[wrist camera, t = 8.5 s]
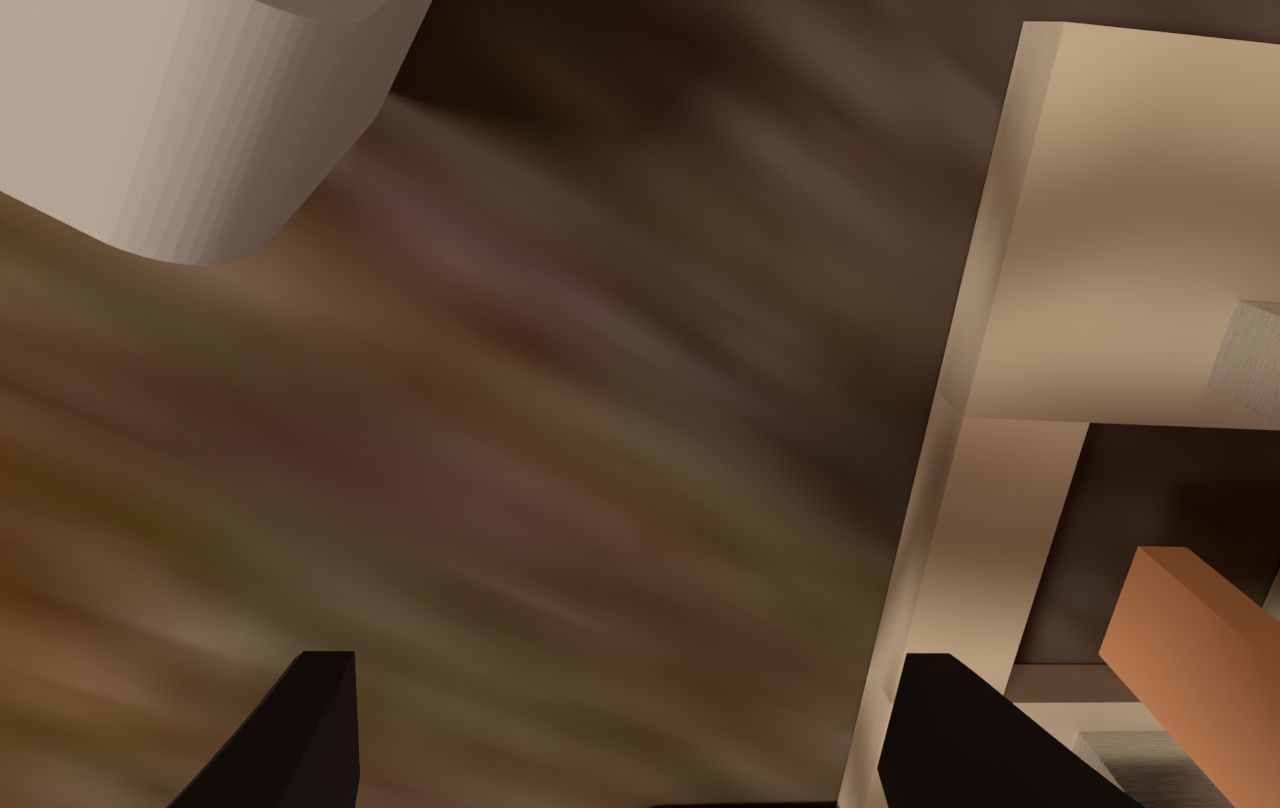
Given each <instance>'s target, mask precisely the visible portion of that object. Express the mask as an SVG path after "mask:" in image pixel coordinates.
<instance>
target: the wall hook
mask: <svg viewBox="0 0 1280 808" xmlns="http://www.w3.org/2000/svg"><path fill="white" fill-rule="evenodd" d="M431 2H432V0H0V191H2V192H4V193H6V194H8V195H10V196H12V197H14V198H16V199H18V200H20V201H22V202H24V203H26V204H28V205H30V206H32V207H34V208H36V209H38V210H40V211H42V212H44V213H46V214H48V215H50V216H52V217H54V218H56V219H58V220H60V221H62V222H64V223H66V224H68V225H70V226H72V227H74V228H76V229H78V230H80V231H82V232H84V233H86V234H88V235H90V236H92V237H94V238H96V239H98V240H100V241H102V242H104V243H106V244H109V245H111V246H114V247H116V248H119V249H122V250H124V251H127V252H130V253H134V254H137V255H140V256H143V257H147V258H152V259H156V260H160V261H165V262H171V263H178V264H185V265H206V266H209V265H219V264H229V263H233V262H236V261H240V260H244V259H246V258H248V257H250V256H252V255H254V254H256V253H258V252H259V251H260V250H261V249H262V248H263V247H264V246H265V245H266V244H267V243H268V242H269V240H270V239H271V238H272V237H273V236H274V235H275V234H276V233H277V232H278V230H279V229H280V228H281V227H282V226H283V225H284V224H285V223H286V221H287V220H288V219H289V218H290V217H291V216H292V215H293V214H294V212H295V211H296V210H297V209H298V208H299V207H300V206H301V205H302V203H303V202H304V201H305V200H306V199H307V198H308V197H309V196H310V194H311V193H312V192H313V191H314V190H315V189H316V187H317V186H318V185H319V184H320V183H321V182H322V180H323V179H324V178H325V177H326V176H327V175H328V173H329V172H330V171H331V170H332V169H333V168H334V166H335V165H336V164H337V163H338V162H339V161H340V159H341V158H342V157H343V156H344V155H345V154H346V152H347V151H348V150H349V149H350V148H351V147H352V145H353V144H354V143H355V142H356V141H357V140H358V138H359V137H360V136H361V135H362V134H363V133H364V131H365V130H366V129H367V128H368V127H369V126H370V124H371V123H372V122H373V121H374V120H375V118H376V117H377V115H378V113H379V111H380V109H381V107H382V105H383V103H384V101H385V99H386V96H387V94H388V92H389V90H390V88H391V86H392V84H393V82H394V80H395V78H396V75H397V73H398V71H399V69H400V67H401V65H402V63H403V61H404V59H405V57H406V54H407V52H408V50H409V48H410V46H411V44H412V42H413V40H414V38H415V36H416V33H417V31H418V29H419V27H420V25H421V23H422V21H423V19H424V17H425V15H426V12H427V10H428V8H429V6H430V4H431Z"/></svg>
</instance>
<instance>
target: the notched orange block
mask: <svg viewBox="0 0 1280 808" xmlns="http://www.w3.org/2000/svg"><path fill="white" fill-rule="evenodd" d="M1099 655H1100V656H1101V658H1102V659H1103V660H1104V661H1105V662H1106V663H1107V664H1108V665H1109V667H1110V668H1111V669H1112V670H1113V671H1114V672H1115V673H1116V674H1117V676H1118V677H1119V678H1120V679H1121V680H1122V681H1123V682H1124V683H1125V685H1126V686H1127V687H1128V688H1129V689H1130V690H1131V691H1132V692H1133V693H1134V695H1135V696H1136V697H1137V698H1138V699H1139V700H1140V701H1141V702H1142V704H1143V705H1144V706H1145V707H1146V708H1147V709H1148V710H1149V711H1150V713H1151V714H1152V715H1153V716H1154V717H1155V718H1156V719H1157V720H1158V722H1159V723H1160V724H1161V725H1162V726H1163V727H1164V728H1165V729H1166V731H1167V732H1168V733H1169V734H1170V735H1171V736H1172V737H1173V738H1174V740H1175V741H1176V742H1177V743H1178V744H1179V745H1180V746H1181V747H1182V749H1183V750H1184V751H1185V752H1186V753H1187V754H1188V755H1189V756H1190V758H1191V759H1192V760H1193V761H1194V762H1195V763H1196V764H1197V765H1198V766H1199V768H1200V769H1201V770H1202V771H1203V772H1204V773H1205V774H1206V775H1207V777H1208V778H1209V779H1210V780H1211V781H1212V782H1213V783H1214V784H1215V786H1216V787H1217V788H1218V789H1219V790H1220V791H1221V792H1222V793H1223V795H1224V796H1225V797H1226V798H1227V799H1228V800H1229V801H1230V802H1231V804H1232V805H1233V806H1234V807H1235V808H1280V620H1279V622H1278V621H1277V620H1276V619H1275V618H1273V617H1272V616H1271V615H1270V614H1269V613H1267V612H1266V611H1265V610H1264V609H1262V608H1261V607H1260V606H1259V605H1257V604H1256V603H1255V602H1254V601H1252V600H1251V599H1250V598H1249V597H1248V596H1246V595H1245V594H1244V593H1243V592H1241V591H1240V590H1239V589H1238V588H1236V587H1235V586H1234V585H1233V584H1231V583H1230V582H1229V581H1228V580H1226V579H1225V578H1224V577H1223V576H1222V575H1220V574H1219V573H1218V572H1217V571H1215V570H1214V569H1213V568H1212V567H1210V566H1209V565H1208V564H1207V563H1205V562H1204V561H1203V560H1202V559H1201V558H1199V557H1198V556H1197V555H1196V554H1194V553H1193V552H1192V551H1191V550H1189V549H1188V548H1187V547H1157V546H1138V548H1137V551H1136V553H1135V556H1134V559H1133V561H1132V564H1131V567H1130V570H1129V572H1128V575H1127V578H1126V580H1125V583H1124V586H1123V589H1122V591H1121V594H1120V597H1119V600H1118V602H1117V605H1116V608H1115V610H1114V613H1113V616H1112V619H1111V621H1110V624H1109V627H1108V629H1107V632H1106V635H1105V638H1104V640H1103V643H1102V646H1101V648H1100V651H1099Z"/></svg>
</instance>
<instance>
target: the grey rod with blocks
mask: <svg viewBox="0 0 1280 808" xmlns="http://www.w3.org/2000/svg"><path fill="white" fill-rule="evenodd" d="M1206 386H1207V387H1208V388H1210V389H1212V390H1214V391H1216V392H1217V393H1219V394H1221V395H1223V396H1225V397H1227V398H1228V399H1230V400H1232V401H1234V402H1236V403H1237V404H1239V405H1241V406H1243V407H1245V408H1247V409H1248V410H1250V411H1252V412H1254V413H1256V414H1257V415H1259V416H1261V417H1263V418H1265V419H1267V420H1268V421H1270V422H1272V423H1274V424H1276V425H1277V426H1279V427H1280V303H1279V302H1263V301H1247V300H1237V303H1236V306H1235V308H1234V311H1233V314H1232V316H1231V319H1230V322H1229V325H1228V327H1227V330H1226V333H1225V336H1224V338H1223V341H1222V344H1221V346H1220V349H1219V352H1218V355H1217V357H1216V360H1215V363H1214V365H1213V368H1212V371H1211V374H1210V376H1209V379H1208V382H1207V385H1206ZM1072 752H1073V753H1074V754H1076V755H1077V756H1078V757H1079V758H1081V759H1082V760H1083V761H1084V762H1086V763H1087V764H1088V765H1090V766H1091V767H1092V768H1093V769H1095V770H1096V771H1097V772H1099V773H1100V774H1101V775H1102V776H1104V777H1105V778H1106V779H1108V780H1109V781H1110V782H1112V783H1113V784H1114V785H1116V786H1117V787H1118V788H1119V789H1121V790H1122V791H1123V792H1125V793H1126V794H1127V795H1129V796H1130V797H1132V798H1133V799H1134V800H1136V801H1137V802H1138V803H1140V804H1141V805H1142V806H1144V807H1145V808H1235V807H1234V806H1233V805H1232V804H1231V802H1230V801H1229V800H1228V799H1227V798H1226V797H1225V796H1224V795H1223V793H1222V792H1221V791H1220V790H1219V789H1218V788H1217V787H1216V786H1215V784H1214V783H1213V782H1212V781H1211V780H1210V779H1209V778H1208V777H1207V775H1206V774H1205V773H1204V772H1203V771H1202V770H1201V769H1200V768H1199V766H1198V765H1197V764H1196V763H1195V762H1194V761H1193V760H1192V759H1191V758H1190V756H1189V755H1188V754H1187V753H1186V752H1185V751H1184V750H1183V749H1182V747H1181V746H1180V745H1179V744H1178V743H1177V742H1176V741H1175V740H1174V738H1173V737H1172V736H1171V735H1170V734H1169V733H1168V732H1167V731H1126V732H1079V733H1078V736H1077V739H1076V742H1075V744H1074V747H1073V750H1072Z"/></svg>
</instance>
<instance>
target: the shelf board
mask: <svg viewBox="0 0 1280 808" xmlns="http://www.w3.org/2000/svg"><path fill="white" fill-rule="evenodd" d="M1237 300H1247V301H1263V302H1279V303H1280V45H1278V44H1269V43H1260V42H1250V41H1241V40H1231V39H1222V38H1212V37H1203V36H1194V35H1184V34H1175V33H1165V32H1156V31H1146V30H1137V29H1128V28H1118V27H1109V26H1099V25H1090V24H1080V23H1071V22H1024V23H1023V27H1022V31H1021V35H1020V39H1019V44H1018V48H1017V52H1016V56H1015V60H1014V65H1013V69H1012V73H1011V77H1010V81H1009V86H1008V90H1007V94H1006V98H1005V102H1004V106H1003V111H1002V115H1001V119H1000V123H999V127H998V132H997V136H996V140H995V144H994V148H993V153H992V157H991V161H990V165H989V169H988V173H987V178H986V182H985V186H984V190H983V194H982V199H981V203H980V207H979V211H978V215H977V220H976V224H975V228H974V232H973V236H972V241H971V245H970V249H969V253H968V257H967V261H966V266H965V270H964V274H963V278H962V282H961V287H960V291H959V295H958V299H957V303H956V308H955V312H954V316H953V320H952V324H951V328H950V333H949V337H948V341H947V345H946V349H945V354H944V358H943V362H942V366H941V370H940V375H939V379H938V383H937V387H936V391H935V395H934V400H933V404H932V408H931V412H930V416H929V421H928V425H927V429H926V433H925V437H924V442H923V446H922V450H921V454H920V458H919V462H918V467H917V471H916V475H915V479H914V483H913V488H912V492H911V496H910V500H909V504H908V509H907V513H906V517H905V521H904V525H903V530H902V534H901V538H900V542H899V546H898V550H897V555H896V559H895V563H894V567H893V571H892V576H891V580H890V584H889V588H888V592H887V597H886V601H885V605H884V609H883V613H882V617H881V622H880V626H879V630H878V634H877V638H876V643H875V647H874V651H873V655H872V659H871V664H870V668H869V672H868V676H867V680H866V684H865V689H864V693H863V697H862V701H861V705H860V710H859V714H858V718H857V722H856V726H855V731H854V735H853V739H852V743H851V747H850V752H849V756H848V760H847V764H846V768H845V772H844V777H843V781H842V785H841V789H840V793H839V798H838V802H837V806H836V808H888V805H887V801H886V798H885V794H884V791H883V788H882V784H881V781H880V777H879V774H878V770H877V766H878V763H879V759H880V755H881V751H882V747H883V743H884V739H885V735H886V731H887V728H888V724H889V720H890V716H891V712H892V708H893V704H894V700H895V696H896V693H897V689H898V685H899V681H900V677H901V673H902V669H903V665H904V661H905V658H906V654H907V653H950V654H951V655H953V656H954V657H955V658H957V659H958V660H959V661H961V662H962V663H963V664H965V665H966V666H967V667H969V668H970V669H971V670H972V671H974V672H975V673H976V674H977V675H979V676H980V677H981V678H982V679H984V680H985V681H986V682H987V683H989V684H990V685H991V686H992V687H993V688H995V689H996V690H997V691H998V692H1000V693H1001V694H1002V695H1003V696H1004V697H1006V698H1007V699H1008V700H1009V701H1011V702H1012V703H1013V704H1014V705H1015V706H1017V707H1018V708H1019V709H1020V710H1021V711H1023V712H1024V713H1025V714H1026V715H1028V716H1029V717H1030V718H1031V719H1032V720H1034V721H1035V722H1036V723H1037V724H1039V725H1040V726H1041V727H1042V728H1043V729H1045V730H1046V731H1047V732H1048V733H1050V734H1051V735H1052V736H1053V737H1054V738H1056V739H1057V740H1058V741H1059V742H1061V743H1062V744H1063V745H1064V746H1066V747H1067V748H1068V749H1069V750H1071V751H1072V750H1073V747H1074V744H1075V742H1076V739H1077V736H1078V733H1079V732H1126V731H1166V729H1165V728H1164V727H1163V726H1162V725H1161V724H1160V723H1159V722H1158V720H1157V719H1156V718H1155V717H1154V716H1153V715H1152V714H1151V713H1150V711H1149V710H1148V709H1147V708H1146V707H1145V706H1144V705H1143V704H1142V702H1141V701H1140V700H1139V699H1138V698H1137V697H1136V696H1135V695H1134V693H1133V692H1132V691H1131V690H1130V689H1129V688H1128V687H1127V686H1126V685H1125V683H1124V682H1123V681H1122V680H1121V679H1120V678H1119V677H1118V676H1117V674H1116V673H1115V672H1114V671H1113V670H1112V669H1111V668H1110V667H1109V665H1013V663H1014V660H1015V657H1016V654H1017V650H1018V647H1019V644H1020V641H1021V638H1022V635H1023V632H1024V628H1025V625H1026V622H1027V619H1028V616H1029V613H1030V609H1031V606H1032V603H1033V600H1034V597H1035V594H1036V591H1037V587H1038V584H1039V581H1040V578H1041V575H1042V572H1043V568H1044V565H1045V562H1046V559H1047V556H1048V553H1049V550H1050V546H1051V543H1052V540H1053V537H1054V534H1055V531H1056V527H1057V524H1058V521H1059V518H1060V515H1061V512H1062V509H1063V505H1064V502H1065V499H1066V496H1067V493H1068V490H1069V486H1070V483H1071V480H1072V477H1073V474H1074V471H1075V468H1076V464H1077V461H1078V458H1079V455H1080V452H1081V449H1082V445H1083V442H1084V439H1085V436H1086V433H1087V430H1088V427H1089V423H1112V424H1136V425H1161V426H1185V427H1210V428H1234V429H1259V430H1280V427H1279V426H1277V425H1276V424H1274V423H1272V422H1270V421H1268V420H1267V419H1265V418H1263V417H1261V416H1259V415H1257V414H1256V413H1254V412H1252V411H1250V410H1248V409H1247V408H1245V407H1243V406H1241V405H1239V404H1237V403H1236V402H1234V401H1232V400H1230V399H1228V398H1227V397H1225V396H1223V395H1221V394H1219V393H1217V392H1216V391H1214V390H1212V389H1210V388H1208V387H1207V386H1206V385H1207V382H1208V379H1209V376H1210V374H1211V371H1212V368H1213V365H1214V363H1215V360H1216V357H1217V355H1218V352H1219V349H1220V346H1221V344H1222V341H1223V338H1224V336H1225V333H1226V330H1227V327H1228V325H1229V322H1230V319H1231V316H1232V314H1233V311H1234V308H1235V306H1236V303H1237ZM1262 609H1264V610H1265V611H1266V612H1267V613H1269V614H1270V615H1271V616H1272V617H1273V618H1275V619H1276V620H1277V621H1278V622H1279V620H1280V568H1279V570H1278V573H1277V575H1276V577H1275V579H1274V582H1273V584H1272V586H1271V588H1270V591H1269V593H1268V595H1267V598H1266V600H1265V602H1264V604H1263V607H1262Z"/></svg>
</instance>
